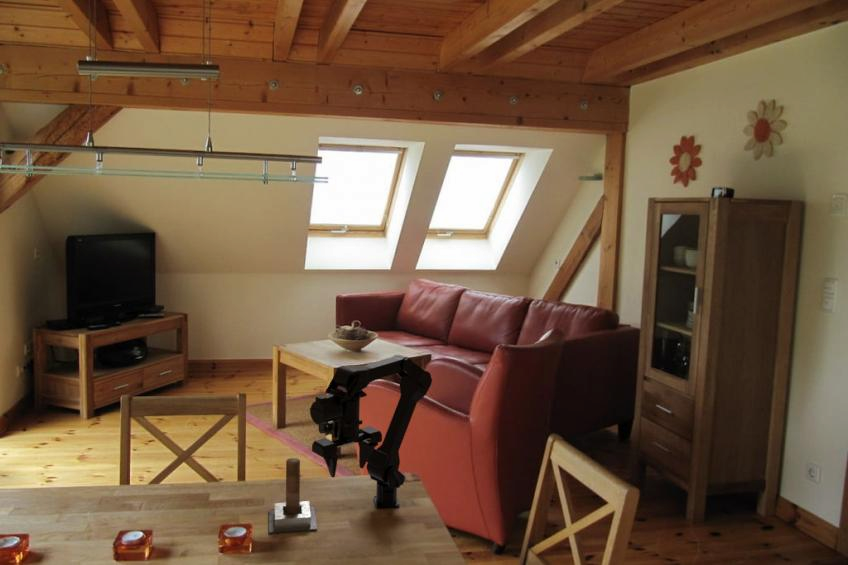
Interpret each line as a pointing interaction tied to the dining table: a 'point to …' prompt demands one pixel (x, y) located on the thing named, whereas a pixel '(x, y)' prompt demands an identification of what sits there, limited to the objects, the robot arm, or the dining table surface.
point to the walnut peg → (292, 486)
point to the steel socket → (292, 519)
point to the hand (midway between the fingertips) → (347, 472)
